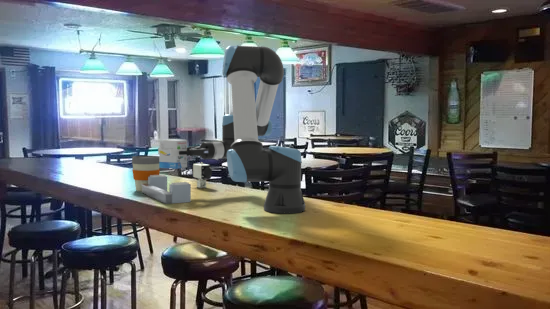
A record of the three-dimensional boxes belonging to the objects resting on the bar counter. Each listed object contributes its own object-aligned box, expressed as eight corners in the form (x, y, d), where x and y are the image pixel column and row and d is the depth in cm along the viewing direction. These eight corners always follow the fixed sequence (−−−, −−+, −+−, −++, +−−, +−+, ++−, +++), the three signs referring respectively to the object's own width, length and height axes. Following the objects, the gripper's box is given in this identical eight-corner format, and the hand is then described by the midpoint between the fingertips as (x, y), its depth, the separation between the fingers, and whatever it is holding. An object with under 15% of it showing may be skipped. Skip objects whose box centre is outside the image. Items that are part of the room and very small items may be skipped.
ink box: (176, 169, 205) (176, 140, 204) (158, 168, 208) (158, 139, 207) (187, 167, 213) (187, 139, 212) (170, 166, 216) (170, 138, 215)
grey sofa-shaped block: (190, 201, 200) (190, 182, 199) (172, 203, 196) (172, 183, 195) (164, 191, 225) (164, 174, 225) (148, 192, 221) (148, 175, 221)
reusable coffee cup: (150, 192, 221) (150, 158, 220) (126, 191, 225) (125, 157, 224) (165, 189, 233) (165, 156, 232) (142, 187, 237) (142, 155, 236)
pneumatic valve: (203, 189, 234) (203, 163, 233) (191, 186, 243) (191, 161, 242) (213, 188, 237) (213, 162, 236) (201, 185, 246) (201, 160, 245)
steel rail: (171, 203, 196) (171, 193, 195) (164, 204, 194) (164, 193, 194) (147, 192, 221) (147, 183, 221) (141, 193, 220) (141, 183, 219)
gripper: (225, 161, 212) (177, 163, 199) (198, 156, 231) (153, 158, 218) (225, 143, 211) (177, 144, 198) (198, 140, 230) (153, 141, 217)
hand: (164, 151), depth 208 cm, fingers closed on ink box, 11 cm apart
